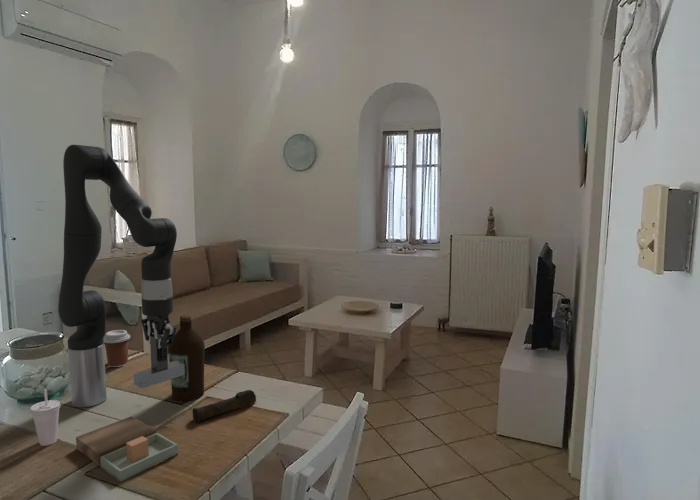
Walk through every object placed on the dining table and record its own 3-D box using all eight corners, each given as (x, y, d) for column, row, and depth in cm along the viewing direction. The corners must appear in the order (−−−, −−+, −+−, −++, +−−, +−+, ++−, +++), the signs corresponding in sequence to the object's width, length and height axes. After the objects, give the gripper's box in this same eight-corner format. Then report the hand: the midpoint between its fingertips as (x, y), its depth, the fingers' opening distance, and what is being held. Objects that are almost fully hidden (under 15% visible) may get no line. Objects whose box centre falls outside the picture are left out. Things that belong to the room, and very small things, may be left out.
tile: (126, 442, 111) (131, 446, 110) (142, 436, 114) (148, 439, 113) (126, 458, 112) (132, 462, 110) (143, 451, 115) (148, 455, 113)
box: (100, 467, 109) (100, 456, 109) (157, 442, 120) (157, 432, 120) (120, 481, 104) (119, 471, 103) (177, 454, 115) (177, 444, 114)
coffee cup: (119, 358, 178) (117, 327, 177) (137, 362, 175) (135, 330, 173) (97, 366, 170) (95, 334, 169) (116, 370, 167) (114, 337, 165)
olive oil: (185, 385, 155) (183, 310, 152) (213, 390, 151) (210, 313, 148) (162, 398, 145) (158, 318, 142) (190, 404, 141) (187, 322, 138)
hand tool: (197, 425, 129) (196, 409, 128) (191, 420, 132) (191, 404, 132) (260, 406, 141) (259, 391, 140) (253, 401, 144) (253, 387, 143)
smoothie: (41, 451, 115) (36, 396, 114) (27, 443, 119) (23, 390, 117) (68, 439, 121) (64, 387, 119) (55, 432, 124) (51, 381, 122)
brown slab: (76, 448, 117) (75, 437, 116) (132, 426, 128) (131, 416, 127) (99, 466, 109) (99, 454, 109) (156, 441, 120) (155, 430, 120)
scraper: (134, 384, 123) (132, 339, 122) (176, 370, 133) (175, 329, 131) (141, 388, 121) (140, 342, 119) (184, 374, 130) (183, 332, 128)
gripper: (129, 293, 125) (132, 356, 127) (157, 302, 116) (160, 370, 119) (156, 289, 131) (158, 349, 133) (185, 297, 122) (186, 362, 124)
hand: (159, 358), depth 126 cm, fingers closed on scraper, 3 cm apart
